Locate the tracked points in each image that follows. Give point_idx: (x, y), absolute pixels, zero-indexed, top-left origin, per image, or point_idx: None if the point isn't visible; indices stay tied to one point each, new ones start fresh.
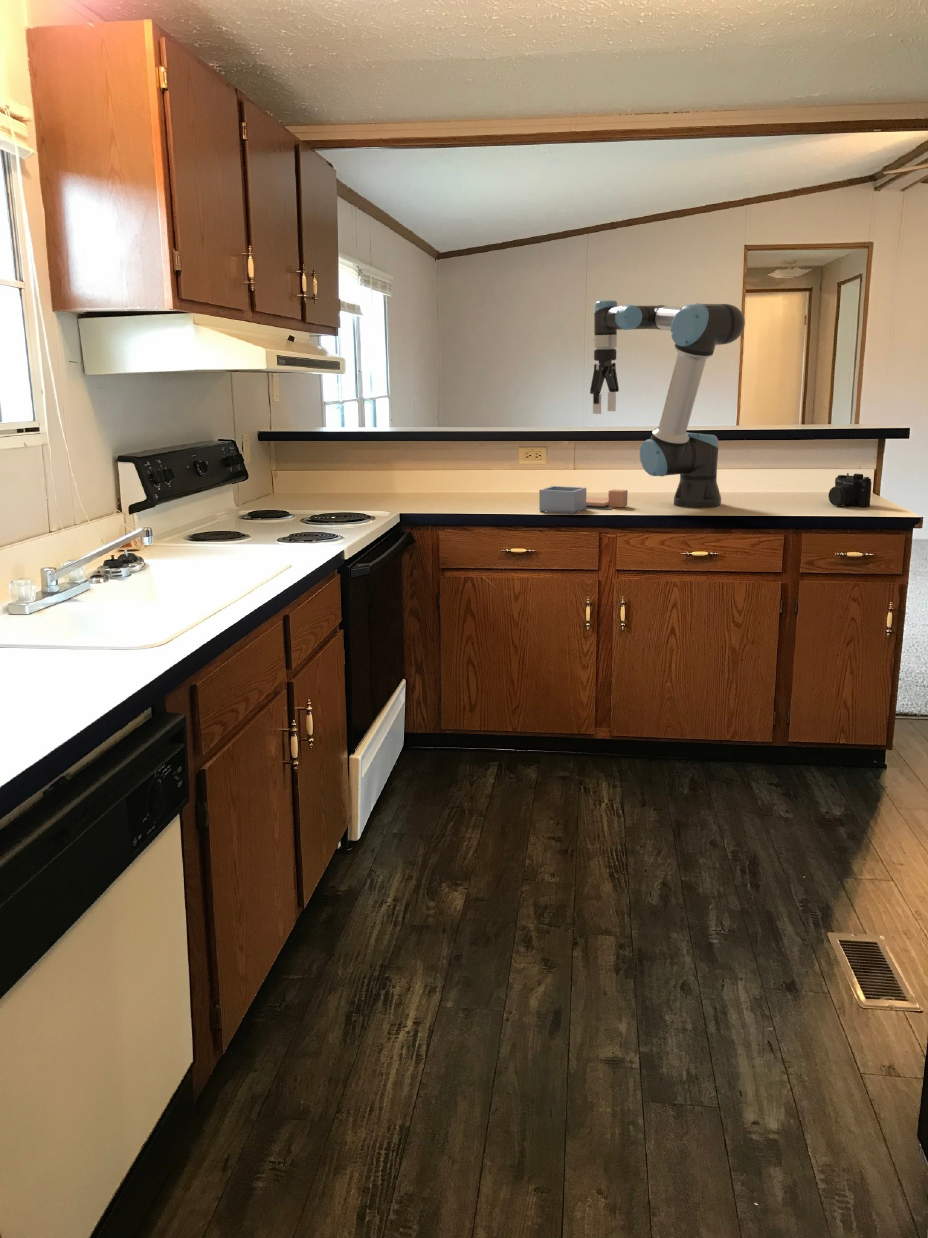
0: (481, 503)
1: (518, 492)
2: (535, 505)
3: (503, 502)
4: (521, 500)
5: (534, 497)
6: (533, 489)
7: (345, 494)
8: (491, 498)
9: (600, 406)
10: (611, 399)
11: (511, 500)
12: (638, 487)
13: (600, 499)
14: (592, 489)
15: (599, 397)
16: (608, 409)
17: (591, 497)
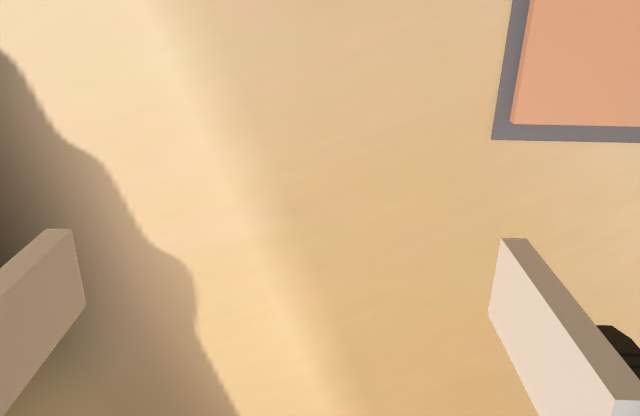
0: None
1: (337, 389)
2: (616, 238)
3: None
4: None
5: (432, 307)
6: (254, 374)
7: None
8: (487, 409)
9: (555, 281)
10: (5, 350)
11: None
12: (12, 29)
13: (587, 7)
14: (164, 194)
15: (617, 373)
16: (77, 305)
17: (534, 68)
